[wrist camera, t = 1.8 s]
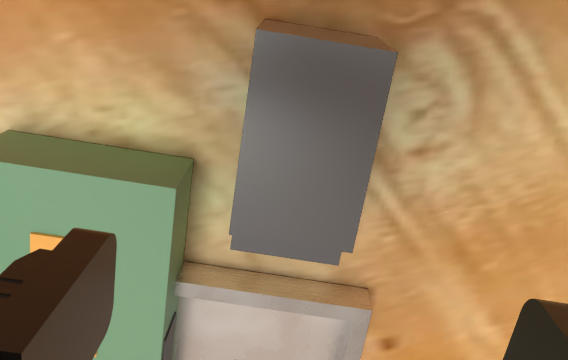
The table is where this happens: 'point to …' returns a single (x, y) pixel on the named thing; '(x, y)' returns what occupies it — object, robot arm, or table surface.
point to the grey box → (308, 140)
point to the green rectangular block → (103, 225)
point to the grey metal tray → (266, 316)
